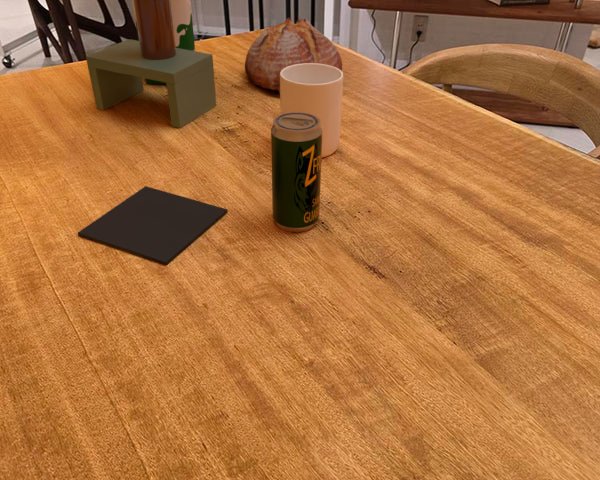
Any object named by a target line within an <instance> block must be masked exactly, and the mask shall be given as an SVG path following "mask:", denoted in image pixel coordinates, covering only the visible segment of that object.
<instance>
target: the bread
mask: <svg viewBox="0 0 600 480" xmlns="http://www.w3.org/2000/svg"><path fill="white" fill-rule="evenodd" d="M303 63H317V64H325V65H330V66H333V67H336V68H338V69H340V70H341V71H342V72H343V60H342V57H341V55H340V52H339V50H338V48H337V46H336V45H335V43H333V41H331V40H330V39H329V38H328V36H326V35H324V34H323V33H322V32H321V31H319V30H318V29H317V28H315V27H314V26H313V25H312V24H311V22H310V21H309V20H308V19H307V18H306V17H305V18H304V19H302V18H299V19H297V20H296V23H294V22H293V20H292V18H291V17H289V16H288V17H287V18H286V19H285V20H284V21H283V22H281V23H278V24H277V25H272V26H271V27H270V28H265V29H264V30H263V32H261V34H260V35H259V36H257V38H256V39H255V40H254V41H253V42H252V43H251V45H250V46H249V49H248V51H247V53H246V57H245V61H244V71H245V74H246V76H247V78H248V79H249V80H250V81H251V83H253V84H254V85H256V86H259V87H261V88H264V89H266V90H267V89H270V91H271V90H272V91H274V92H279V94H280V72H281V71H282V69H284V68H286V67H288V66H291V65H295V64H303Z"/></svg>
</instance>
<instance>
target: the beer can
mask: <svg viewBox="0 0 600 480" xmlns="http://www.w3.org/2000/svg"><path fill="white" fill-rule="evenodd" d="M320 123H321V122H320V119H319V118H318V117H317V116H315V115H312V114H309V113H304V112H289V113H283V114H277V116H274V118H273V119H272V126H271V127H270V146H271V147H270V154H271V155H270V157H271V200H272V201H271V203H272V204H271V205H272V209H271V210H272V220H273V221H274V223H275V224H276V226H277V228H279V229H281V230H283V231H287V232H290V233H303V232H307V231H309V230H311V229H313V228H314V227H315V226H316V224H317V223H318V221H319V218H320V207H321V183H322V179H321V178H322V158H321V156H322V128H321V126H320Z"/></svg>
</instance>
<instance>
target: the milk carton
mask: <svg viewBox="0 0 600 480" xmlns="http://www.w3.org/2000/svg"><path fill="white" fill-rule="evenodd" d="M131 2H132V8H133V15H134V21H135V29H136V34H137V41H139V36H138V30H137V23H136V16H135V10H134V3H133V0H131ZM170 3H171V12H172V20H173V29H174V37H175V46H176V48H180V49H186V50H191V51H196V45H195V32H194V23H193V11H192V4H191V3H192V1H191V0H170ZM144 81H145V84H149V85H150V84H151V85H152V84H154V85H164V86H167V85H166V83H165V82H160V81H156V80H151V79H146V78H144Z"/></svg>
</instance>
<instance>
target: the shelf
mask: <svg viewBox="0 0 600 480" xmlns="http://www.w3.org/2000/svg"><path fill="white" fill-rule="evenodd" d="M85 61H86V64H87V69H88V75H89V77H90V79H89V80H90V85H91V88H92V94H93V98H94V102H95V107H96V109H97V110H101V111H106V110H107V109H109V108H111V107H114V106H116V105H117V104H119V103H121V102H123V101H125V100H127V99H129V98H131V97H134V96H135V95H137V94H138V93H142V92H143V91H145V89H144V83H143V82H144V81H143V79H145V78H146V79H151V80H156V81H160V82H165V83H166V85H165V86H166V91H167V100H168V107H169V115H170V122H171V127H173V128H176V129H177V128H178V129H181V128H182V127H184V126H186V125H188V124H189V123H191V122H192V121H194V120H196V119H197V118H198V117H201V116H202V115H205V113H207V112H208V111H210V110H212V109H214V108H216V106H217V95H216V82H215V72H214V71H215V70H214V69H215V68H214V57H213V54H212V53H207V52H201V51H196V50H195V51H191V50H186V49H180V48H176V55H175V56H174V57H172V58H168V59H163V60H151V59H146V58H143V57H142V55H141V49H140V43H139V41H138V40H136V39H130V38H128V39H125V40H123V41H121V42H118V43H116V44H113V45H111V46H109V47H106V48H103V49H101V50H98V51H95V52H93V53H91V54H88V55H85Z"/></svg>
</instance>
